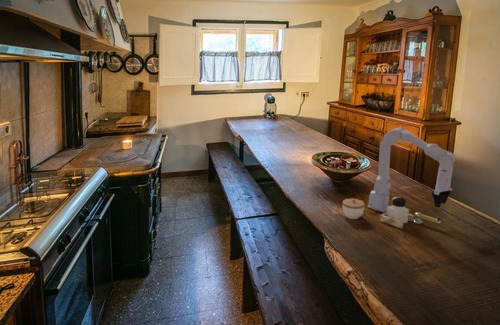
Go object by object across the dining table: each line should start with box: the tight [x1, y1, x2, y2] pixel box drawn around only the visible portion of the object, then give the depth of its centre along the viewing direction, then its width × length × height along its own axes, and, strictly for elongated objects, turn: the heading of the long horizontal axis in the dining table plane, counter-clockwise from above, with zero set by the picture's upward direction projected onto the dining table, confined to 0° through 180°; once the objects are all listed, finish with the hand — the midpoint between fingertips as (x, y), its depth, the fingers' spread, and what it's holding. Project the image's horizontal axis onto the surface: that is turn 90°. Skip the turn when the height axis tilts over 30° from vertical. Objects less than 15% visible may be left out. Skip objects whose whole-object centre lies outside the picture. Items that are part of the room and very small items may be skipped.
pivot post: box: [411, 217, 423, 225], centre depth 169 cm, size 4×4×2 cm
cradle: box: [379, 211, 415, 229], centre depth 170 cm, size 11×12×3 cm
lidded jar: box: [342, 198, 365, 220], centre depth 174 cm, size 11×11×9 cm
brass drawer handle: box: [414, 211, 442, 224], centre depth 165 cm, size 12×3×3 cm, turn 42°
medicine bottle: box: [386, 196, 410, 224], centre depth 169 cm, size 7×7×12 cm
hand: (440, 204), depth 165 cm, fingers open, 6 cm apart
